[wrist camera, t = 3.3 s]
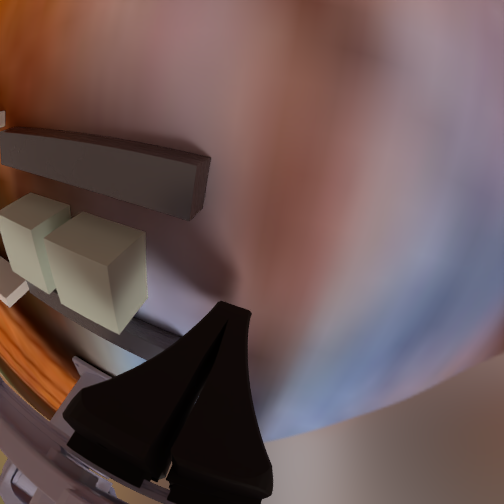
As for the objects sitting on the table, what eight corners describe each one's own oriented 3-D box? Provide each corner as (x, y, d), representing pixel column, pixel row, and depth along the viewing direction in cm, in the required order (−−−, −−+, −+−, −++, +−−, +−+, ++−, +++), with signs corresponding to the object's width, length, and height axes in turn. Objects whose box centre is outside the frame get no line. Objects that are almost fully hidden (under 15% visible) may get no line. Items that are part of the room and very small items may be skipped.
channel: (185, 359, 16) (178, 373, 15) (39, 283, 17) (30, 292, 16) (210, 157, 9) (196, 166, 8) (14, 126, 11) (-1, 131, 10)
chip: (81, 264, 15) (49, 294, 12) (42, 246, 15) (12, 270, 13) (71, 203, 12) (30, 230, 10) (32, 191, 13) (-5, 213, 10)
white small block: (149, 296, 14) (119, 334, 12) (92, 272, 15) (60, 303, 12) (147, 230, 12) (107, 266, 10) (84, 210, 12) (43, 237, 10)
